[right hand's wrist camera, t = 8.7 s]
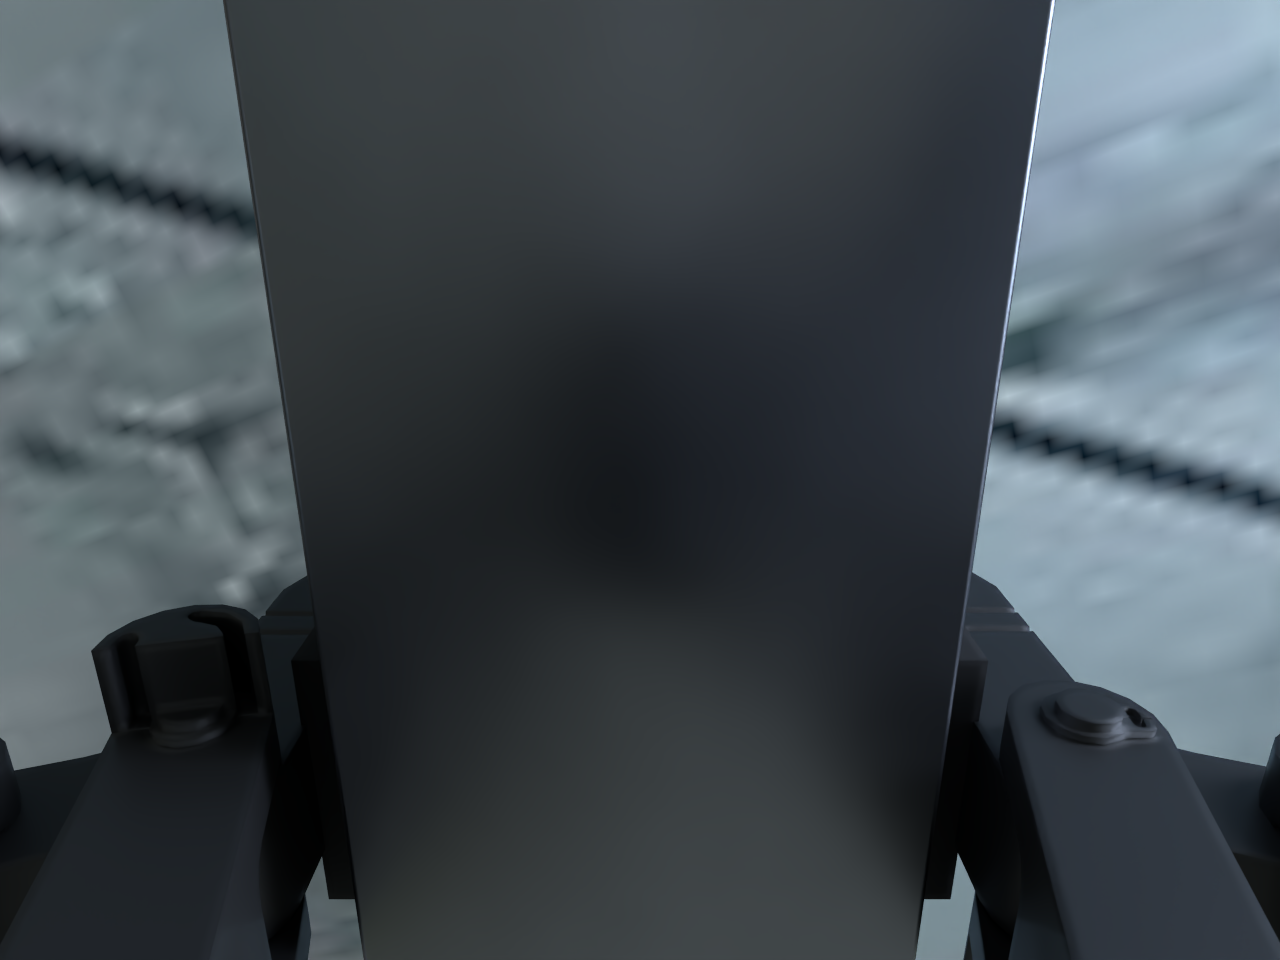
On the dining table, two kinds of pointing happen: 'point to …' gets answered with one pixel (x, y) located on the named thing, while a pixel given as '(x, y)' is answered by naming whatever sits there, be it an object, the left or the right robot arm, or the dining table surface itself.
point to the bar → (639, 447)
